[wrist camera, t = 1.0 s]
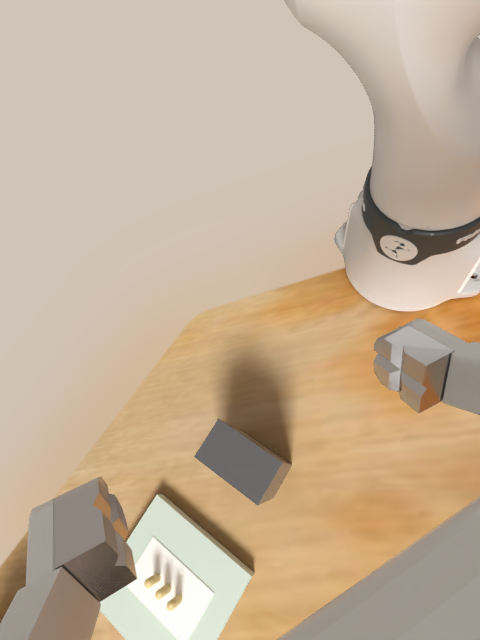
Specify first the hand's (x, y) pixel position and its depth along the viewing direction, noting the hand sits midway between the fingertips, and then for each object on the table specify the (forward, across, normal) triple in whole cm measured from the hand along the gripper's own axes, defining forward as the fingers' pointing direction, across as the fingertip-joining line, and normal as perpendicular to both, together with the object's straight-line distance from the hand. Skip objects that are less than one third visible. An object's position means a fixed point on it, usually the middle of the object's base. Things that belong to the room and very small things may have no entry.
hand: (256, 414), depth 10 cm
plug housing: (+18, -4, +29) cm, 34 cm away
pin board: (+14, +9, +35) cm, 39 cm away
